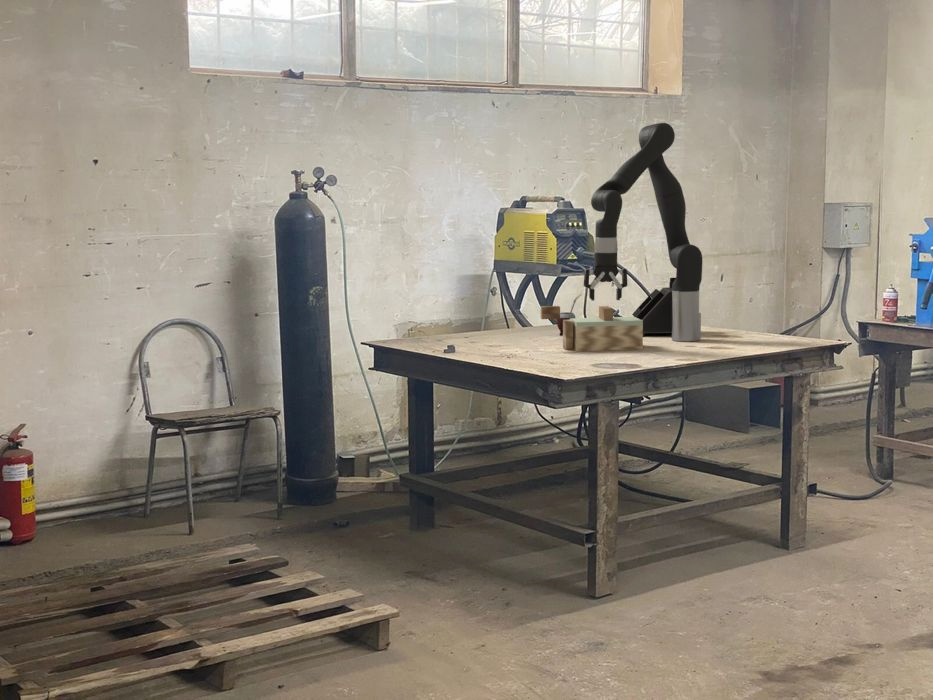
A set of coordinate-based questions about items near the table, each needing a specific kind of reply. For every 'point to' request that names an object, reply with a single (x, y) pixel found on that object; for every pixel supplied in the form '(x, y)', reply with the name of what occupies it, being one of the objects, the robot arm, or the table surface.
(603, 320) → the lid
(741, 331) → the table surface
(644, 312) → the voltmeter
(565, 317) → the mate gourd
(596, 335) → the toolbox
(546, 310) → the wooden block
